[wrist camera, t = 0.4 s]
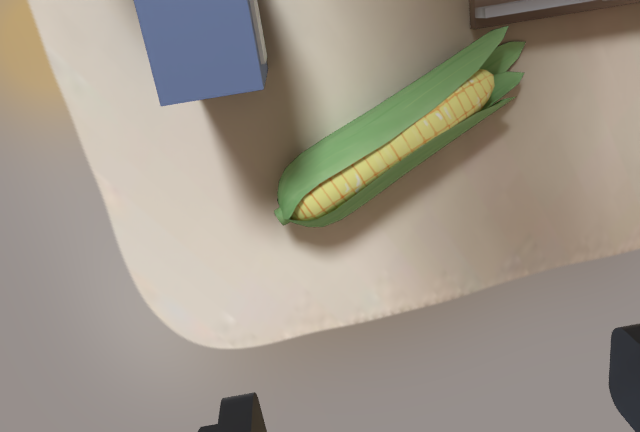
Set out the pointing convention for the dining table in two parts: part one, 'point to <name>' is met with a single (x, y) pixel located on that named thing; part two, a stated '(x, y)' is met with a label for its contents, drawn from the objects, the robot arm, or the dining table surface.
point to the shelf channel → (530, 9)
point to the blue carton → (203, 47)
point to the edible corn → (397, 134)
